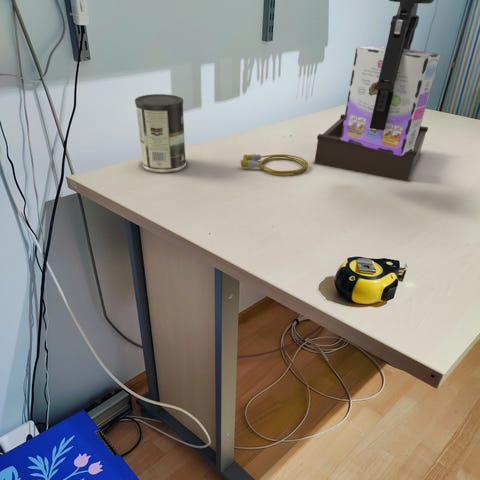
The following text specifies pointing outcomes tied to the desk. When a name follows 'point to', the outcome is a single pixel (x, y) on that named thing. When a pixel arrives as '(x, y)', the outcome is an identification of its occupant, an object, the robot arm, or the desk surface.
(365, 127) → the candy box
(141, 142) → the coffee can
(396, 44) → the robot arm
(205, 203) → the desk surface
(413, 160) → the square shelf
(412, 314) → the desk surface
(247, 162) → the extension cord
